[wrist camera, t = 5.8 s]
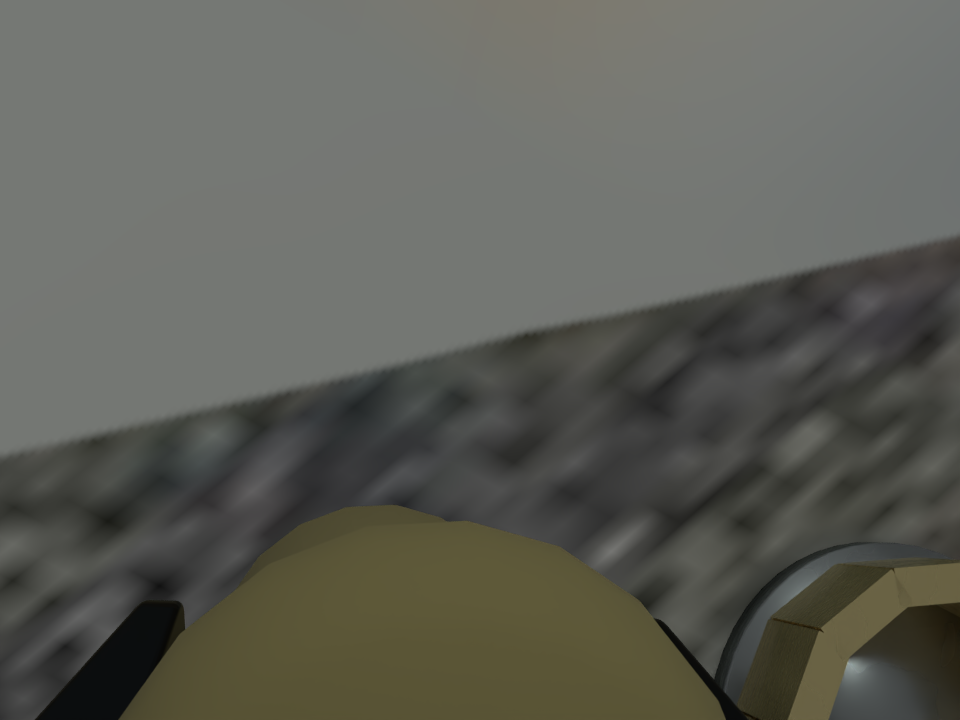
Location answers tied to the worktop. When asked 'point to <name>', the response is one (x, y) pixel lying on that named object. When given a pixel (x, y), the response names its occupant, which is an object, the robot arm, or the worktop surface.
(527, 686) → the cork
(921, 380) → the worktop surface
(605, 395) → the worktop surface
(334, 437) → the worktop surface
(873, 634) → the collar socket
